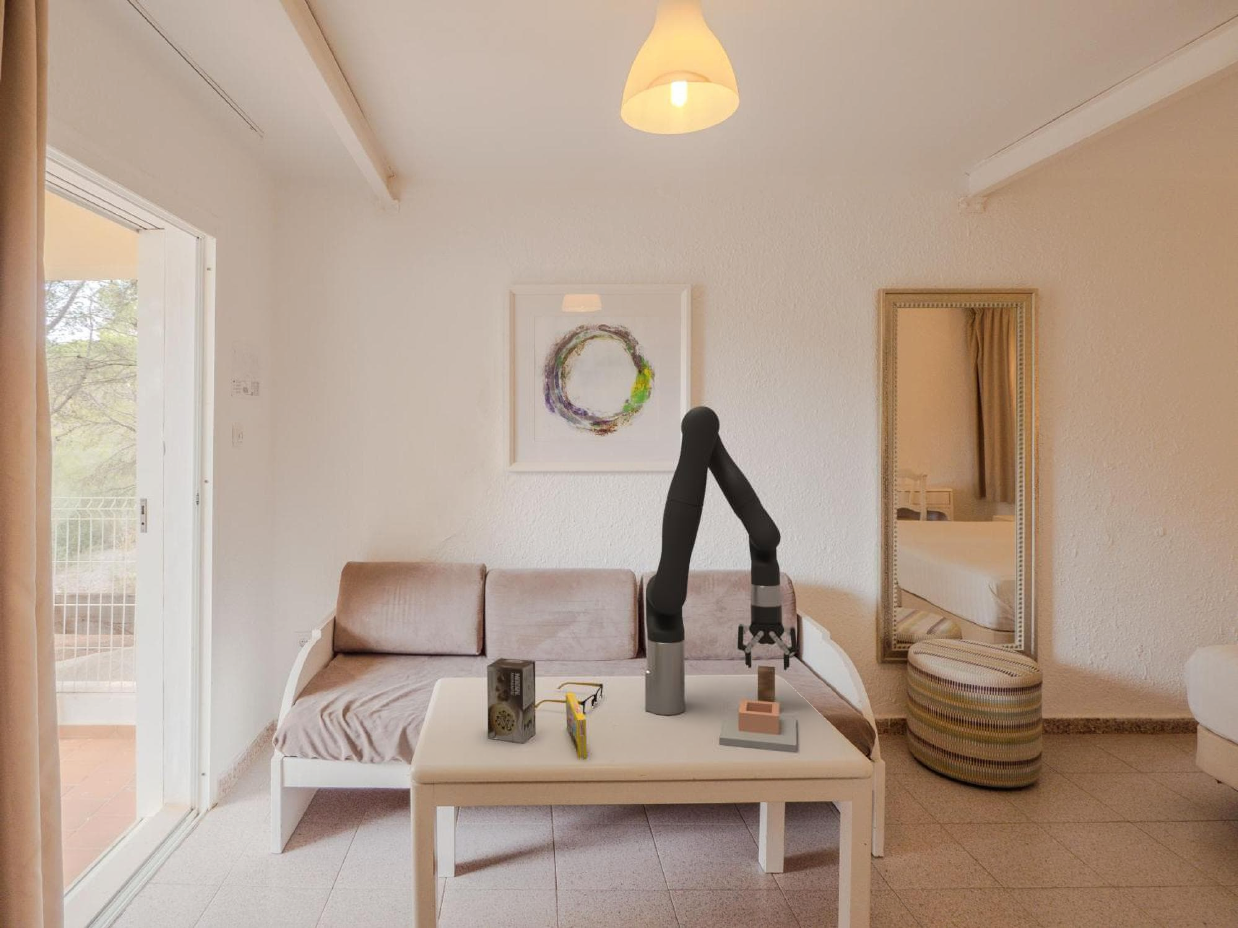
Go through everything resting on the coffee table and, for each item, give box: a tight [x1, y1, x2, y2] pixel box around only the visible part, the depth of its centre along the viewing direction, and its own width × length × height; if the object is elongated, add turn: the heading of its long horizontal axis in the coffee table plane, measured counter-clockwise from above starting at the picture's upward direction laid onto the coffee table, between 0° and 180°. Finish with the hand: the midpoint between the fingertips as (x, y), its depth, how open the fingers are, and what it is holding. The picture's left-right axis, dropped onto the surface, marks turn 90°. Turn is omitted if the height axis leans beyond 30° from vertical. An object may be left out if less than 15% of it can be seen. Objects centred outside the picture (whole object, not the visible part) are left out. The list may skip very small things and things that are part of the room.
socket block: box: [718, 699, 798, 753], centre depth 147 cm, size 16×18×6 cm
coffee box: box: [486, 657, 537, 744], centre depth 145 cm, size 9×6×16 cm
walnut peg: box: [757, 665, 776, 702], centre depth 161 cm, size 4×4×10 cm
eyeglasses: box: [535, 681, 604, 714], centre depth 165 cm, size 14×14×4 cm
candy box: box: [565, 692, 588, 760], centre depth 141 cm, size 16×2×8 cm, turn 13°
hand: (767, 668), depth 161 cm, fingers open, 8 cm apart
